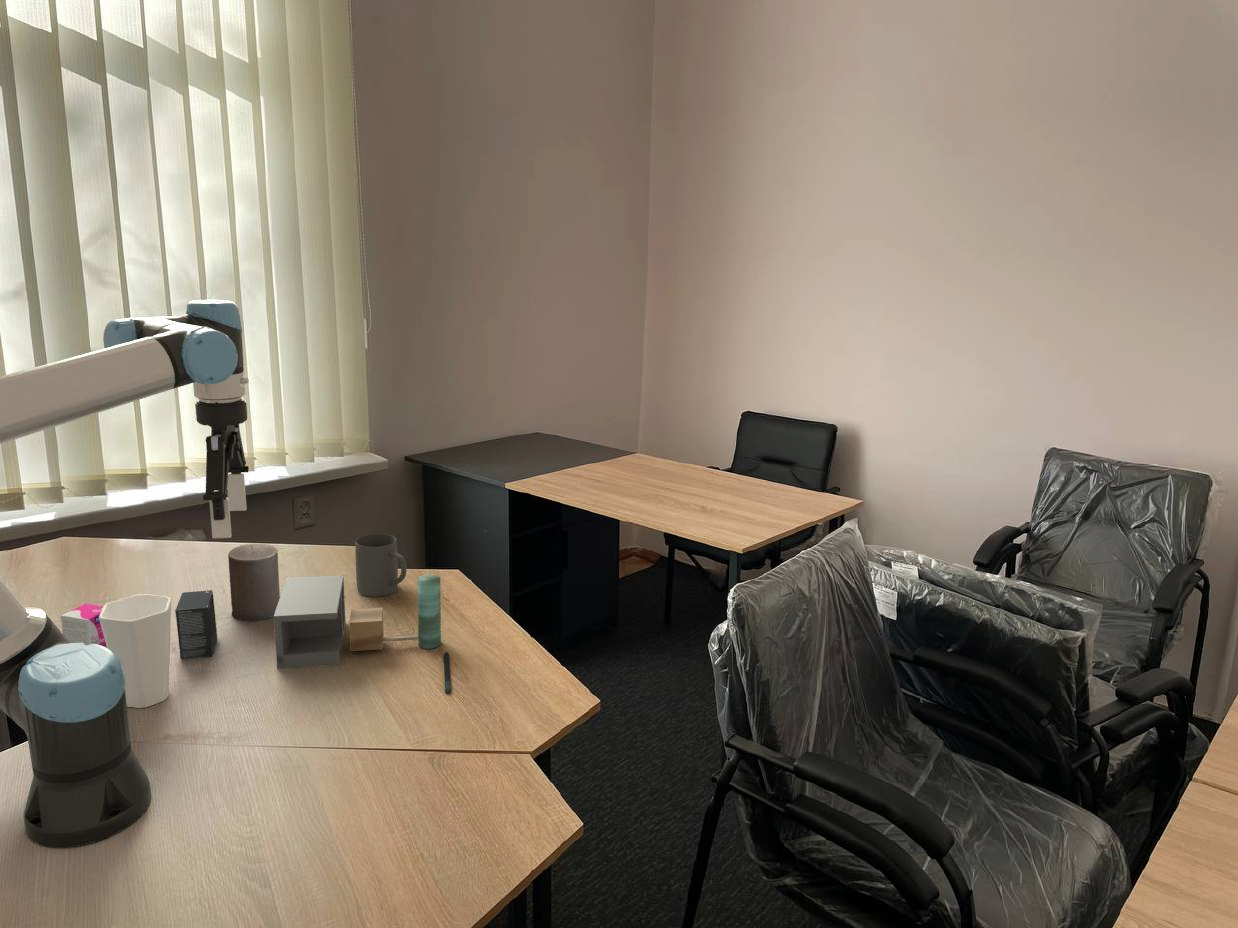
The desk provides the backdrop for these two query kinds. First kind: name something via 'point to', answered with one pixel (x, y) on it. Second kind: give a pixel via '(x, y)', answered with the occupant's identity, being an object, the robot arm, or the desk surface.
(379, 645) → the tethered cylinder
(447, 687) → the pen
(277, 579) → the pillar candle
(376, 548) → the mug
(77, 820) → the robot arm
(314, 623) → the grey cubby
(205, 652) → the box
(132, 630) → the cup
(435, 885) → the desk surface
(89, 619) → the supplement box
